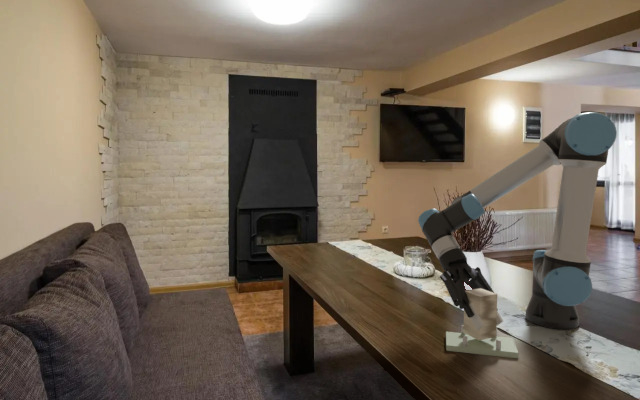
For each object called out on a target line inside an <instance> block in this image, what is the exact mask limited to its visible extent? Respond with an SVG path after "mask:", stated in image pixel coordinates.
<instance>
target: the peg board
mask: <svg viewBox="0 0 640 400" xmlns="http://www.w3.org/2000/svg"><path fill="white" fill-rule="evenodd" d="M463 329H464V324H461V327H460V330H461V331H460V332H455V331H445V349H446V351H447V352H456V353H465V354H472V355H483V356H492V357H493V356H494V357H501V358H510V359H511V358H512V359H519V355H520V354H519V351H518V348H517V346H516V342H515V341H514V338H513V337H507V336H498V328H497V327H496V337H493V338H488V339H484V340H477V339H475V338H473V337H471V336H469V335H467V334H465V333H463Z"/></svg>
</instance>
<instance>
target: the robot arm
mask: <svg viewBox="0 0 640 400" xmlns="http://www.w3.org/2000/svg"><path fill="white" fill-rule="evenodd" d="M617 135H618V133H617V127H616V125H615V123H614V122H613V120H612V119H611V118H610V117H609V116H607V115H605V114H603V113H600V112H591V111H590V112H589V111H588V112H581V113H579V114H576V115H575V116H572V117H571V118H568V119H566V120H565V121H563V122H562V123H561V124H560V125H558V127H557V128H555V129H554V130H553V131H552V132H550V133H549V134H547V135H546V136H545V137H543V138H542V139H541V140H539V142H538V146H537V145H536V146H535V147H534V148H533V149H531V150H529V151H528V152H526V153H525V154H523V155H522V156H520V157H519V158H517V159H516V160H514V161H512V162H511V163H509V164H508V165H506V166H505V167H503V168H502V169H500V170H499V171H497V172H496V173H494V174H493V175H491V176H489V177H488V178H486V179H485V180H483V181H482V182H480V183H479V184H477V185H475V186H474V187H473V188H471V189H469V190H468V191H467V192H465V193H463V194H462V195H460V196H457V197H455V199H453V201H452V202H451V204H450V205H449V206H447V207H446V208H444V209H442V210H440V211H439V210H438V209H437V208H430V209H427V210H424V211H423V212H422V213H421V214H420V215H419V216H418V219H417V221H418V224H419V227H420V228H421V231H422V233H423V235H424V236H425V237H424V238H426V240H427V242H428V244H429V245H430V247H431V249H432V251H433V253H434V255H435V256H436V258H437V260H438V262H439V264H440V266H441V267H442V270H443V272H442V273H441V274H440V275H439V278H440V280H441V281H442V282H443V284H444V285H445V287H446V290H447V292H448V294H449V297H450V298H451V301H452V302H453V305H454V307H458V308H459V309H460V310H463V311H464V310H465V312H466V314H467V316H468V317H469V318H471V320H472V322H473V324H474V326H475V328H476V329H477V330H479V329H480V328H481V327H483V326H484V323H483V321H482V320H481V318H480V316H479V314H478V313H477V311H476V309H475V307H474V305H473V304H472V303H470V304H468V303H469V300H468V297H467V294H466V292H465V291H466V289H465V286H464V282H465V283H466V284H467V285H469V286H470V287H471V288H472V289H479V288H482V289H485V290H487V291H490V292H493V293H495V291H494V289H492V287H491V286H490V285H491V284H489V283H488V281H487V280H486V278H485V277H484V275H483V273H482V270H481V268H480V267H479V266H476V267H475V268H473V267H471V266H470V264H468V258H467V257H466V255H465V253H464V252H463V250H462V248H461V246H460V244H459V242H458V241H457V239H456V237H455V236H454V235H453V233H454V232H456V231H457V230H460V229H461V228H463V227H464V226H466V225H468V224H470V223H472V222H474V221H475V220H478V219H479V218H480V217H481V216H483V215H484V214H486V210H485V208H487V207H488V206H491V204H493V203H495V202H496V201H498V200H500V199H501V198H503V197H504V196H506V195H507V194H509V193H511V192H512V191H514V190H516V189H517V188H519V187H521V186H522V185H524V184H525V183H527V182H529V181H530V180H531V179H533V178H535V177H537V176H538V175H540V174H541V173H543V172H545V171H546V170H548V169H549V168H551V167H553V166H560V165H561V166H562V172H561V180H560V187H559V191H558V192H559V193H558V199H557V205H556V213H555V221H554V227H553V228H554V229H553V235H552V240H551V242H552V243H551V248H549V249H537V250H534V251H533V254H532V287H531V288H532V289H531V290H532V291H531V292H532V293H531V298H530V299H529V302H528V304H527V307H526V309H525V319H526V320H527V321H528V322H529V323H532V324H535V325H537V326H541V327H545V328H549V329H555V330H557V329H558V330H572V329H576V328H578V327H579V325H580V317H579V313H578V310H577V307H576V306H578V305H580V304H583V303H585V302H586V300H588V299H589V297H591V294H592V290H593V283H592V279H591V278H590V270H591V265H592V260H591V258H590V257H589V256H588V255H587V248H588V247H587V246H588V240H589V236H590V235H589V234H590V227H591V222H592V215H593V210H594V209H593V208H594V202H595V195H596V190H597V183H598V176H599V170H600V169H601V168H602V167H604V166H605V165H607V160H608V156H609V150H610V149H611V148H612V146H613V145H614V144H615V142H616V138H617ZM469 280H470V281H469ZM503 322H504V320H503V318H502V317H501V315H500V313H499V311H498V308H497V322H496V327H497V326H499V325H501V324H502V323H503Z"/></svg>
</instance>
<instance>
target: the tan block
mask: <svg viewBox="0 0 640 400" xmlns="http://www.w3.org/2000/svg"><path fill="white" fill-rule="evenodd" d="M465 292H466V294H467V297H468V300H469V303H468V304H470V303H472V304H473V305H474V307H475V309H476V311H477V313H478V314H479V316H480V318H481V320H482V321H483V323H484V326H483V327H481V328H480V329H479V330H477V329H476V328H475V326H474V324H473V322H472V320H471V318H469V317H468V316H467V314H466V312H465V310H464V309H463V325H464V329H463V333H465V334H467V335H469V336H471V337H473V338H475V339H477V340H484V339H488V338H493V337H496V328H497V326H496V322H497V309H498V293H495V292H494V293H493V292H490V291H487V290H485V289H482V288H479V289H472V290H466V291H465Z"/></svg>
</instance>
